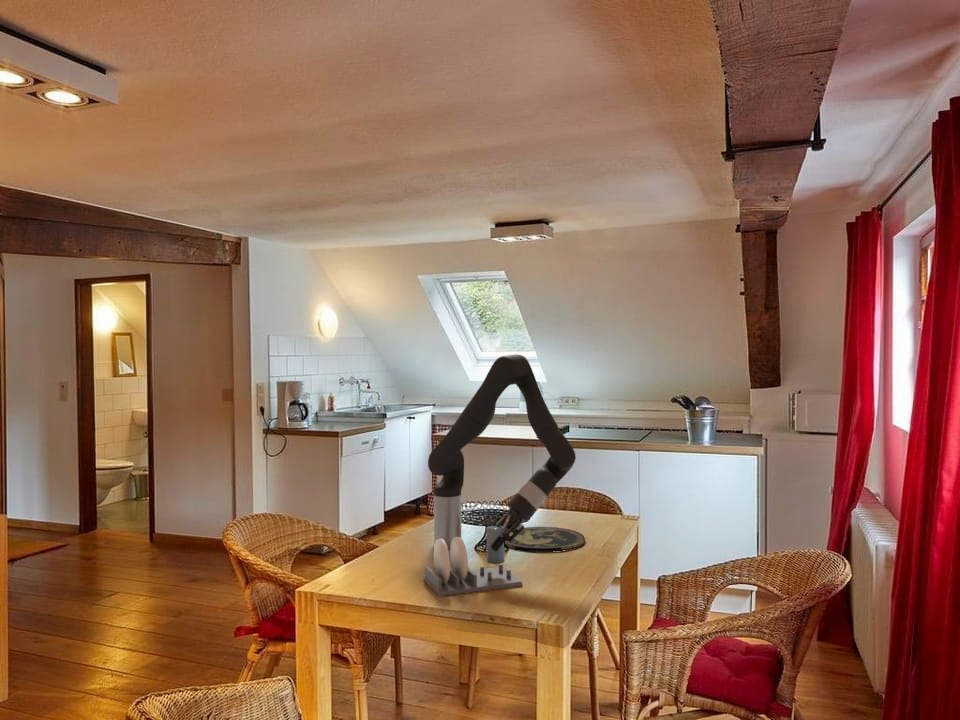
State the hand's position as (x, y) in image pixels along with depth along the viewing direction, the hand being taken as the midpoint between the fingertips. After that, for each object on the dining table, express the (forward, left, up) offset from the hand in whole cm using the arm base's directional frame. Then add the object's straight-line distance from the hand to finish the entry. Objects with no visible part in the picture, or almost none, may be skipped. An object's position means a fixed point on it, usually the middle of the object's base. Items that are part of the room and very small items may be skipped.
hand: (489, 546), depth 203 cm
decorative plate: (-34, +33, -10) cm, 48 cm away
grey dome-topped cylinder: (0, +2, -4) cm, 5 cm away
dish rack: (0, -5, -10) cm, 11 cm away
